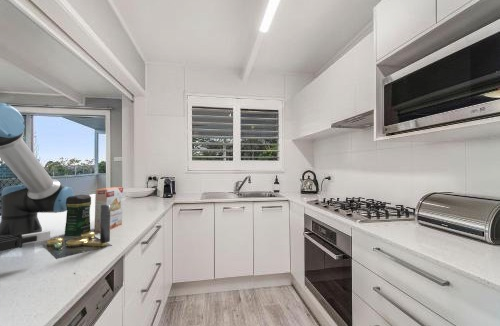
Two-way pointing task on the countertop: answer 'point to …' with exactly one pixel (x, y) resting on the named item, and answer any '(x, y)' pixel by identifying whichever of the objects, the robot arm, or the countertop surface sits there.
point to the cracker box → (115, 200)
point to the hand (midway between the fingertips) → (49, 235)
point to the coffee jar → (77, 215)
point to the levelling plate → (61, 250)
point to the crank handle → (103, 231)
